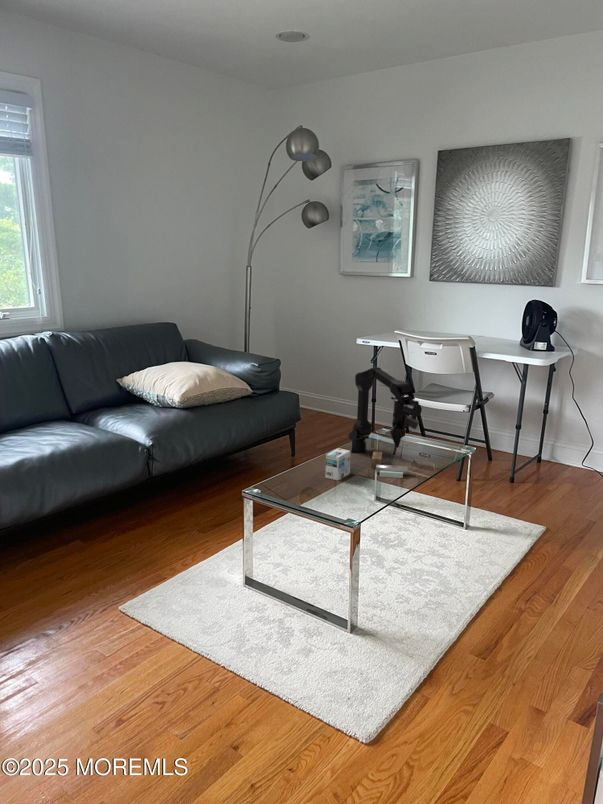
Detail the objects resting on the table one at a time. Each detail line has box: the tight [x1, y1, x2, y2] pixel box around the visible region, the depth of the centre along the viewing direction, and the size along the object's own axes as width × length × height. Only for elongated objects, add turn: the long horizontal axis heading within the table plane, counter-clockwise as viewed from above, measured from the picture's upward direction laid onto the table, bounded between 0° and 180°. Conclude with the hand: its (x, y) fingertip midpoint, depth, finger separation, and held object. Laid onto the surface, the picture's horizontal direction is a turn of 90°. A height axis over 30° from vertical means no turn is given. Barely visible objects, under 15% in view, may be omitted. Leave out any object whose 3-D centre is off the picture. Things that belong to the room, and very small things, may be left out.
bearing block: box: [371, 451, 383, 470], centre depth 279 cm, size 4×10×5 cm, turn 170°
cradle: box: [379, 471, 404, 479], centre depth 270 cm, size 10×8×2 cm
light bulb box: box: [325, 447, 352, 481], centre depth 266 cm, size 11×7×11 cm, turn 146°
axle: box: [375, 464, 410, 475], centre depth 269 cm, size 14×4×4 cm, turn 80°
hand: (397, 444), depth 274 cm, fingers open, 9 cm apart
